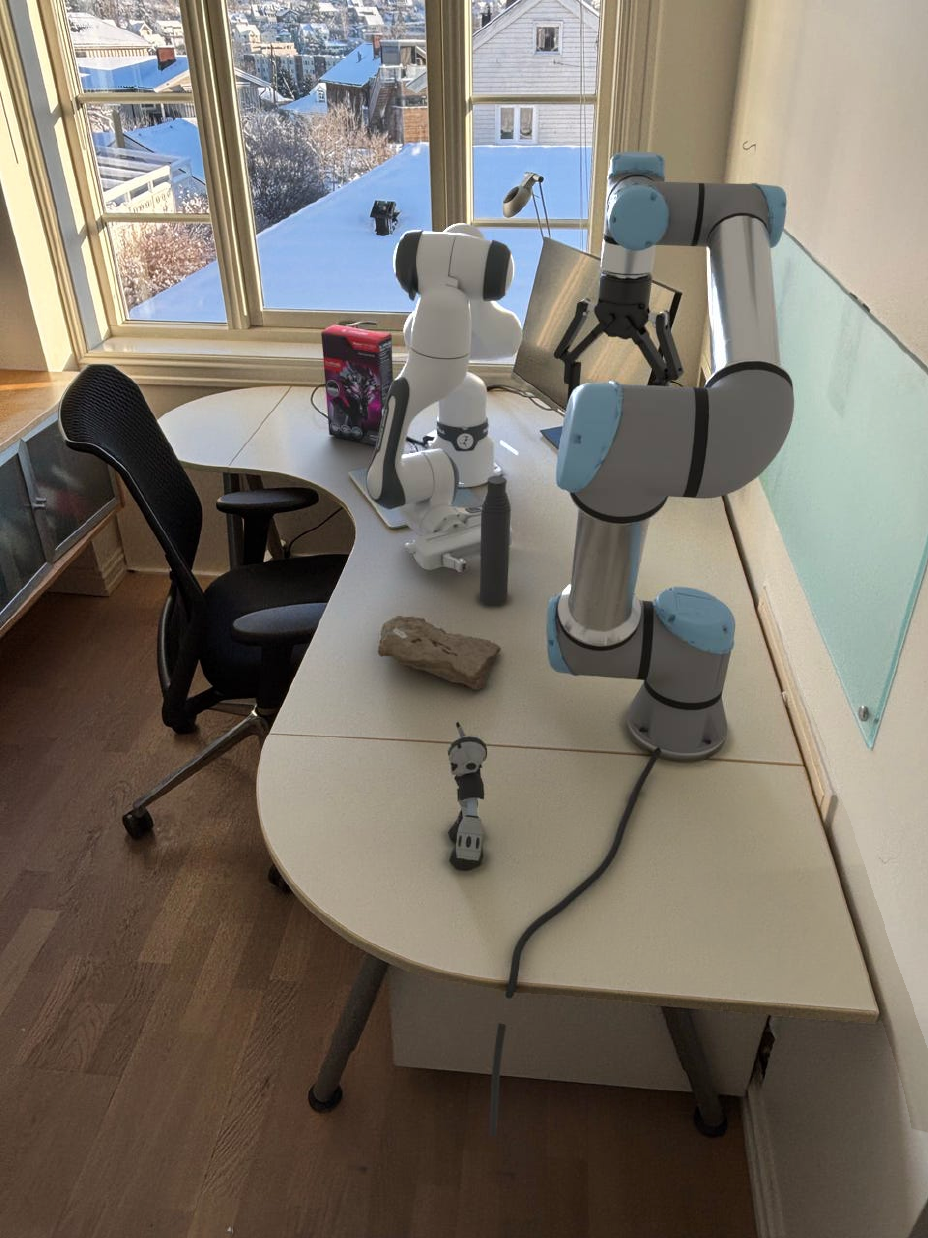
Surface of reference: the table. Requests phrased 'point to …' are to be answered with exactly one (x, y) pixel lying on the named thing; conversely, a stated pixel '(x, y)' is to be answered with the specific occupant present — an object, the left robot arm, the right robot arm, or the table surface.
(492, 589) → the bottle
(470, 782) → the robot
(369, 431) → the graphics card box
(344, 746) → the table surface
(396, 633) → the stone
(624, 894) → the table surface
